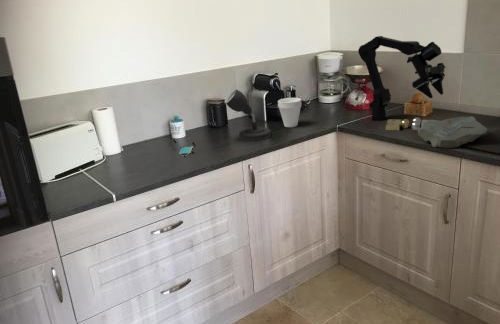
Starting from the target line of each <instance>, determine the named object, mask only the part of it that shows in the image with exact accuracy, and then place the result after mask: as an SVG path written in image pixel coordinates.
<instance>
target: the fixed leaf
mask: <svg viewBox="0 0 500 324" xmlns="http://www.w3.org/2000/svg"><path fill="white" fill-rule="evenodd" d="M433 120H434V119H421V118H420V117H414V118H413V119H412V124H411V129H412V130H413V131H414V132H415V131H416V132H418V130H419V129H420V128H421V127H422V125H423V123H425V122H427V121H433Z"/></svg>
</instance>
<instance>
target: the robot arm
mask: <svg viewBox="0 0 500 324" xmlns="http://www.w3.org/2000/svg"><path fill="white" fill-rule="evenodd" d="M381 46H382V47H385V48H389V49H393V50H397V51H399V52H400V53H402V54H404V55H406V56H408V57H407V60H406V64H409V63H411V64H412V66H413V68H414V69H415V71H414V73H415V74H414V75H418V76H419V78H417V79H415V80H414V81H412V83H411V86H412V88H413V89H415V90H417V91H419V92H421V93H423V94H424V95H425V96H426V97H428V98H429V99H433V98H434V96H433V94H432V92H431V88H430V85H431V86H432V88H434V89H435V90H436V91H437V92H438V93H439V94H440V95H441V96H442V95H444V88H443V80H444V79H445V76H446V73H444V72H445V68H446V65H445V64H444V63H443V62H438V63H437V64H436V65H434V66H433V65H432V64H428V62H431V61H432V60H434V59H435V58H437V57H438V56H441V54H442V49H441V47H440V46H439V45H438V44H437V43H435V41H430V42H429V43H428V44H427V45H425V46H424V45H421V44H420V42H419V41H418V40H417V41H415V40H408V41H407V40H405V41H404V40H403V41H402V40H398V39H393V38H390V37H385V36H383V35H378V36H374V37H373V38H372V39H371V40H369V41H368V42H366V43H364V44H362V45H360V46H359V47H358V55H359V57H360V59H361V60H362V61H363V63H364V64H365V65H366V69H367V71H368V75H369V78H370V79H369V80H370V83H371V86H372V88H373V92H372V93H373V94H372V98H373V99H372V101H371V102H370V103H369V104H368V105H369V109H371V121H385V120H386V118H387V109H386V107H388V106H389V105H388V104H389V103H390V101H391V97H392V95H391V93H390V88H385V86H384V84H383V80H382V77H381V75H380V71H379V68H378V64H377V61H376V57H377V52H376V51H377V50H378V49H380V47H381ZM418 53H419V54H418ZM411 55H413V56H411Z"/></svg>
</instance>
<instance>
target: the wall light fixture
mask: <svg viewBox="0 0 500 324" xmlns="http://www.w3.org/2000/svg"><path fill="white" fill-rule="evenodd" d="M225 104H226V106H227V107H228V108H229V109H231V110H232V111H235V112H238V113H241V112H242V113H244V114H245V115H250V116H251V119H252V120H251V127H248V128H245V129H242V130H240V131H239V133H238V137H239V138H240V140H241V141H243V140H245V141H244V142H258V141H259V140H260V141H264V140H267V139H269V138H270V137H272V133H271V132H272V131H271V130H270V128H267V127H261V126H257V120H256V115H255V114H254V113H253V111H252V107H251V105H249V104H248V99H247V97H246V96H245V94H244V93H243V92H242V91H241V90H239V89H234V91H233V92H232V93H231V94H230V95H229V96H228V97H227V99H226V101H225ZM239 138H238V139H239ZM260 141H259V142H260Z"/></svg>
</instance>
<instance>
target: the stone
mask: <svg viewBox="0 0 500 324" xmlns="http://www.w3.org/2000/svg"><path fill="white" fill-rule="evenodd" d="M432 120H433V121H427V122H425V123H423V125H422V127H421V126H420V129H419V130H417V135H418V136H419V137H420V138H422V139H423V141H424V142H428V141H429V142H430V143H431V147H433V148H437V147H438V148H444V149H449V148H450V149H451V148H452V149H453V148H458V147H460V146H462V145H465V144H469V143H468V142H472V143H473V142H474V141H475V140H476V139H478V138H479V137H481V136H482V135H487V134H488V130H489V129H488V127H486V126H485V125H483V124H482V123H480V121H477V119H476V118H475V117H474V116H472V115H471V116H457V117H450V118H446V119H443V120H437V119H436V120H435V119H432Z"/></svg>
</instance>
